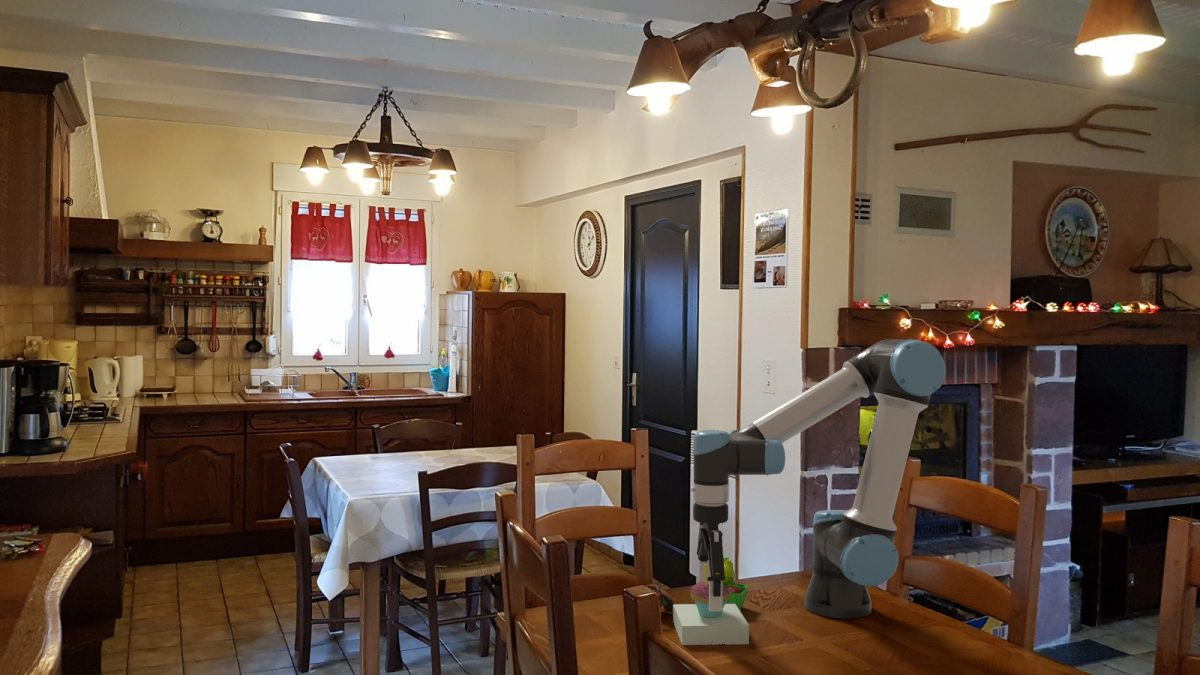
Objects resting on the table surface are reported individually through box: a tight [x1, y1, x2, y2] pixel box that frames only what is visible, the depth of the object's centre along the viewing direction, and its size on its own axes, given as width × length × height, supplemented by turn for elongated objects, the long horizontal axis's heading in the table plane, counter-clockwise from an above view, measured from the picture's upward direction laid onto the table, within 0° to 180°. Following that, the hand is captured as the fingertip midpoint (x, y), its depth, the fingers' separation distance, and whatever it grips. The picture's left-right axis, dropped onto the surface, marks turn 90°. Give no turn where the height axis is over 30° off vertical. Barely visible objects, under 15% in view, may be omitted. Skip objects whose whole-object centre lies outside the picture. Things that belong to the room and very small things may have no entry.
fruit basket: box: [716, 556, 749, 611], centre depth 213 cm, size 11×9×11 cm
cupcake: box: [690, 561, 730, 618], centre depth 196 cm, size 9×8×12 cm
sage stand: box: [672, 603, 750, 646], centre depth 196 cm, size 14×14×4 cm
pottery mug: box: [644, 583, 674, 615], centre depth 207 cm, size 12×10×8 cm
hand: (709, 600), depth 196 cm, fingers open, 13 cm apart
